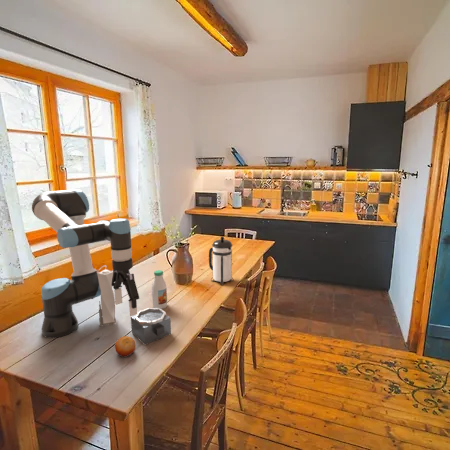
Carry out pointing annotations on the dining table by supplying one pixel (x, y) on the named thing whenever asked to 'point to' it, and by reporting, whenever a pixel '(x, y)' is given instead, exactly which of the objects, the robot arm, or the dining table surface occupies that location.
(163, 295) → the milk bottle
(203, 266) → the dining table surface
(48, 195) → the robot arm
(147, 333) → the grey octagonal pot
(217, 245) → the coffee press
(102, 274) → the skyscraper
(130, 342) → the fruit
